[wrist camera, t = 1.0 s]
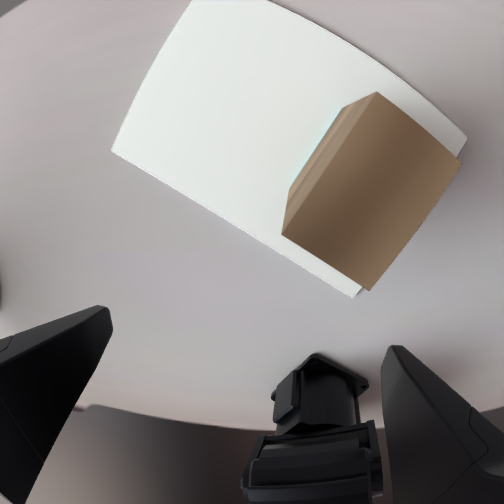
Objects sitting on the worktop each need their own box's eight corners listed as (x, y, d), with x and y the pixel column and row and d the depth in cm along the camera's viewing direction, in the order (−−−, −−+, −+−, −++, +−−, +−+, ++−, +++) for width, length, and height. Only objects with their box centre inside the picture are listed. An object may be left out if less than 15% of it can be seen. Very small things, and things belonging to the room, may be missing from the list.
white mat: (464, 137, 16) (468, 137, 16) (351, 295, 22) (352, 298, 22) (210, -19, 15) (208, -22, 14) (114, 150, 20) (110, 151, 20)
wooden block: (394, 146, 17) (462, 163, 9) (341, 222, 20) (368, 291, 11) (341, 108, 17) (376, 91, 9) (289, 187, 19) (281, 234, 11)
